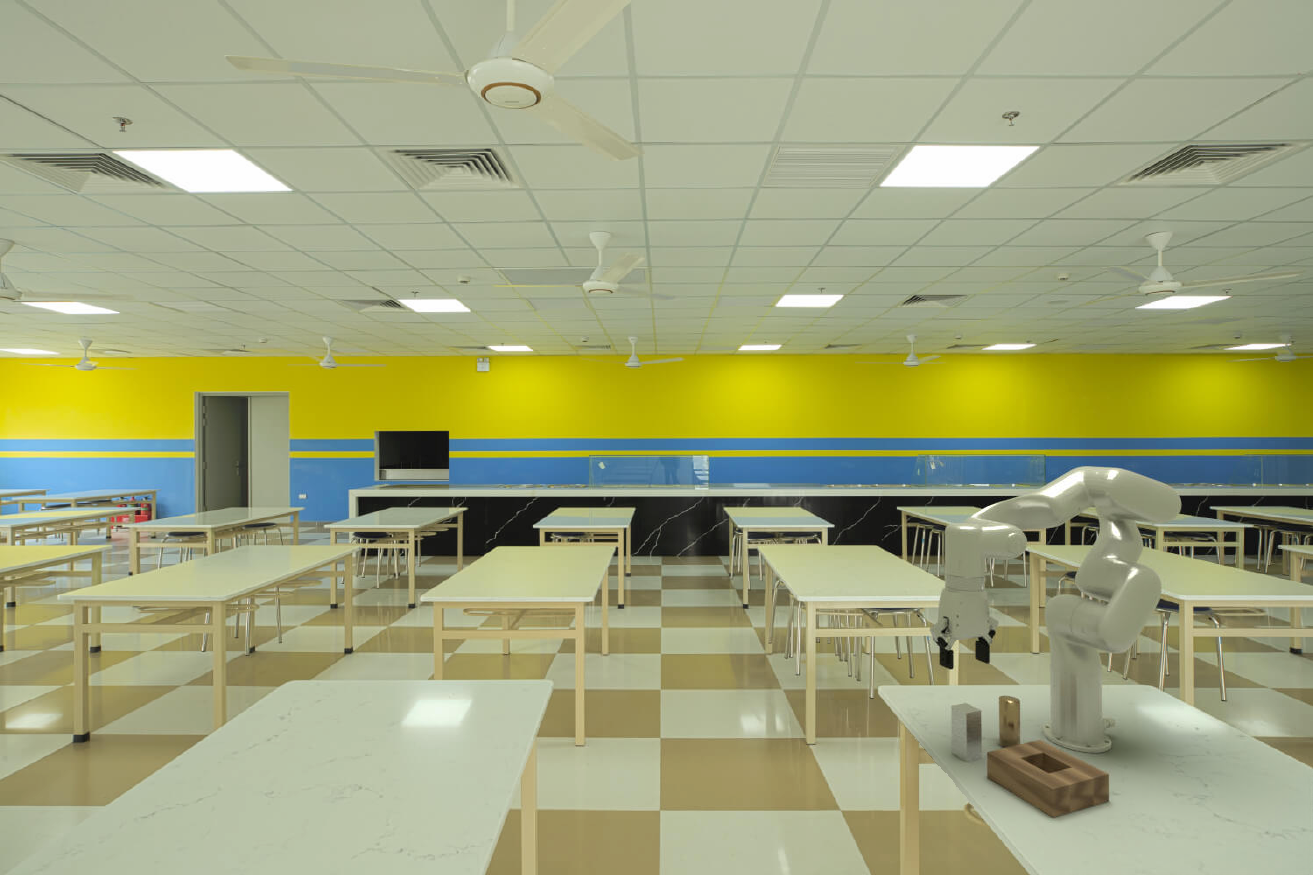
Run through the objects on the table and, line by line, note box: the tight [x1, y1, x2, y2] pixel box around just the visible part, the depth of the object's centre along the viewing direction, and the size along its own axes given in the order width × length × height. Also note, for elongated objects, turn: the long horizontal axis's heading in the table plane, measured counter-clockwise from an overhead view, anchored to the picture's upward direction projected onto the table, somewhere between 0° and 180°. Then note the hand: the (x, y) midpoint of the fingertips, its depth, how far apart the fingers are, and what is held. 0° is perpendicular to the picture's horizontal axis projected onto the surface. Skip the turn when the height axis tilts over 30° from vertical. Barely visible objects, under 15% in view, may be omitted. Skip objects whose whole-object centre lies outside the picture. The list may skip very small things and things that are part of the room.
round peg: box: [998, 695, 1021, 749], centre depth 137 cm, size 4×4×10 cm
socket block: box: [986, 739, 1110, 818], centre depth 121 cm, size 14×14×5 cm
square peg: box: [950, 702, 983, 763], centre depth 133 cm, size 4×4×10 cm
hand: (964, 664), depth 133 cm, fingers open, 9 cm apart
